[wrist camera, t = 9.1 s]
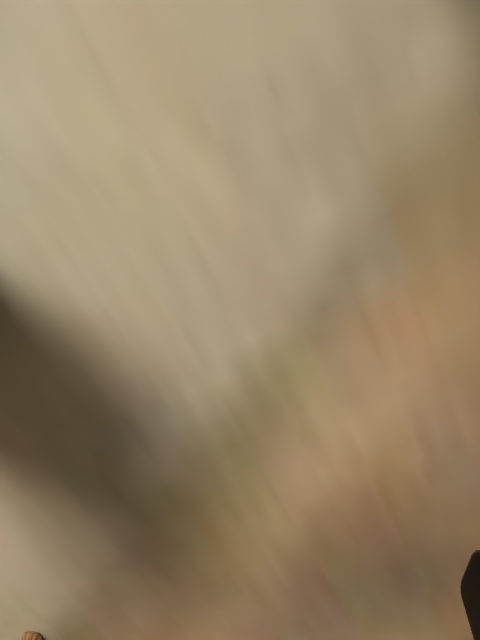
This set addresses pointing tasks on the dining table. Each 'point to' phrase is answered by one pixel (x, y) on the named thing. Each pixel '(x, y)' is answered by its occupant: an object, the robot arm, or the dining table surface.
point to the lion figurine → (31, 636)
